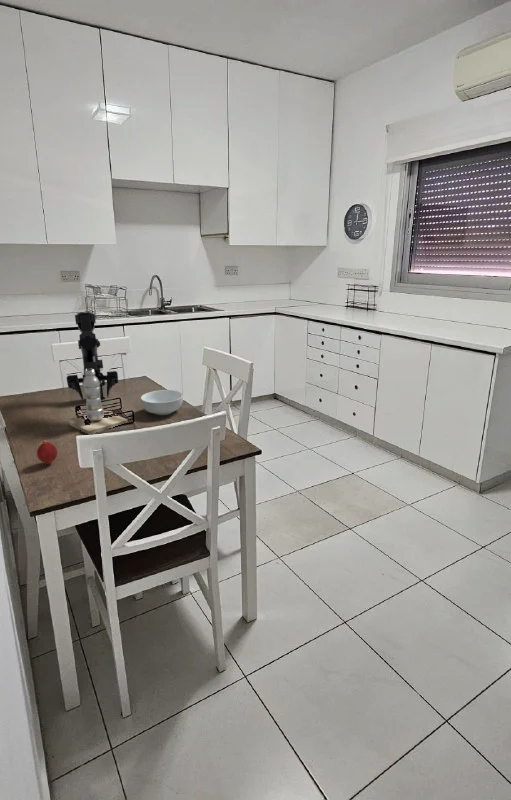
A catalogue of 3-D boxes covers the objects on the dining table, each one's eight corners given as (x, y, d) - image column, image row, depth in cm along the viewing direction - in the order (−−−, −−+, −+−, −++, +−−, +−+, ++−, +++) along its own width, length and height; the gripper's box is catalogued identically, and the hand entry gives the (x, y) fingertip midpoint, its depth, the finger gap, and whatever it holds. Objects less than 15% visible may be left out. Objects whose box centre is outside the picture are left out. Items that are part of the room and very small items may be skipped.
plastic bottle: (103, 416, 184) (97, 366, 178) (106, 421, 178) (99, 370, 172) (86, 418, 181) (79, 368, 175) (88, 424, 175) (81, 372, 169)
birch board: (107, 414, 190) (106, 410, 190) (128, 423, 180) (127, 419, 179) (69, 424, 179) (68, 421, 179) (89, 435, 169) (88, 431, 168)
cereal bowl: (134, 412, 192) (132, 396, 189) (167, 403, 203) (165, 387, 201) (158, 422, 181) (157, 404, 178) (192, 411, 192) (191, 395, 190)
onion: (42, 460, 149) (38, 437, 147) (61, 459, 150) (57, 436, 147) (36, 468, 144) (31, 444, 141) (55, 467, 144) (51, 443, 142)
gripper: (63, 355, 175) (66, 391, 168) (114, 350, 181) (120, 385, 174) (66, 370, 184) (70, 405, 178) (115, 365, 190) (120, 399, 184)
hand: (95, 398), depth 178 cm, fingers open, 9 cm apart
